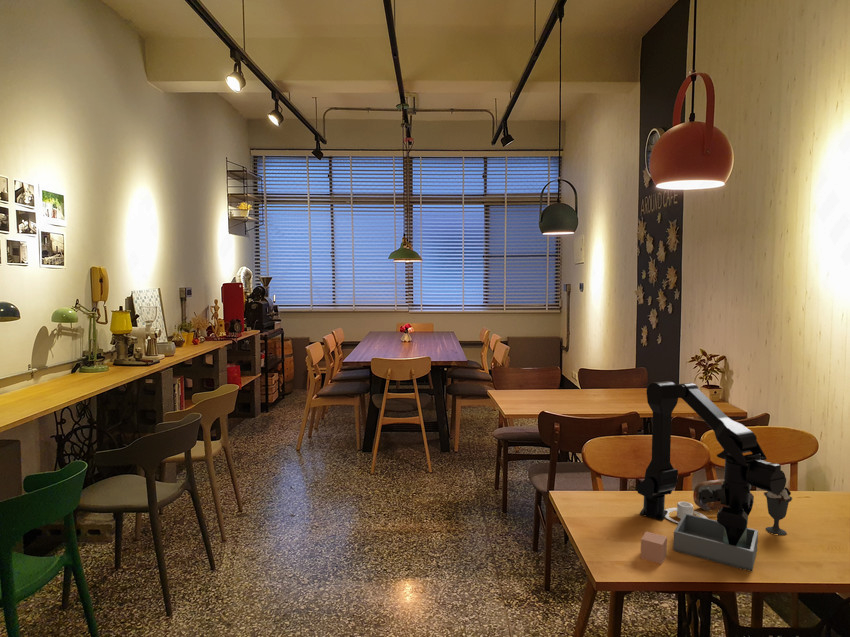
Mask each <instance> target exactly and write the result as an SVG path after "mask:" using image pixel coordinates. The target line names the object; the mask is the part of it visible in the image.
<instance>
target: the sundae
mask: <svg viewBox="0 0 850 637" xmlns="http://www.w3.org/2000/svg"><path fill="white" fill-rule="evenodd" d="M791 494H792V492H791V491H790V489H789V488H787V487H786V486H785V488H784V490H783V491H782V492H781V493H780V494H773V493H770V492H768V491H765V492H763V495H764V496H765V498H766V503H767V505H766V506H767V511H768V512H767V513H768V514H769V516H770V517H771V518H772V519H773V525H772V526H767V527H766V528H765V531H766V530H767V531H768V532H767V531H766V532H767V533H769V532H770V533H769V534H771V533H773V534H772V535H774V534H778V535H777V536H779V535H784V536H787V534H788V533H787V531H786V530H784V529H783V528H780V521H781V520H783V519H784V518H786V516H787V511H788V508H789V503H790V502H792V500H793V497H792V496H791Z"/></svg>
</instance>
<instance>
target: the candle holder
mask: <svg viewBox="0 0 850 637" xmlns="http://www.w3.org/2000/svg"><path fill="white" fill-rule="evenodd" d="M676 506H677V507H669V508H666V509H665V508H664V510H666V511H668V513H667V514H666V516H665V519H667V520H669V521H670V522H673V523H675V524H678V523H679V522H680V521H678V520H675V519H674V518H672V517H669V516H670V514H671V513H674V512H673V511H676V517H677V518H679V519H680V520H681V518H682V516H683V515H684V513H686V514H690V515H695V514H696V515H695V516H697V515H698V516H700V517H703V518H707V519H709V518H708V517H707V516H706V515H705V514H703V513H701V512H700V511H697V510H694V505H693V504H692V503H690V502H688V501H678V502H677V505H676ZM670 512H671V513H670ZM669 513H670V514H669ZM693 513H694V514H693Z"/></svg>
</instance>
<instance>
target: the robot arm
mask: <svg viewBox="0 0 850 637" xmlns="http://www.w3.org/2000/svg"><path fill="white" fill-rule="evenodd" d="M645 391H646V399H647V400H646V401H647V404H648V406H649V408H650V409H651V411H652V428H651V429H652V432H651V433H652V434H651V435H652V436H651V458H650V462H649V464H648V466H647V467H646V468H645V474H644V479H643V480H642V481H640V482H639V483H638V484H636V491H637V494H639V495H641V496H643V506H642V509H641V510H640V512H639V515H640V516H644V517H648V518H652V519H656V520H660V521H663V520H664V519H666V517H665V516H666V514H667V513H668V511H666V510H665V504H666V502H665V500H666V495H671V494H672V492H673V490H674V489H676V486H677V484H679V480H678V475H679V470H678V469H677V468H674V467H673V466H674V465H672V463H671V441H672V439H671V438H672V414H673V411H674V409H676V407H677V405H678V401H679V399H682V400H683V401H684V402H685V403H686V404H687V405H688V406H689V407H690V408H691V409H692V410H693V412H695V413H696V414H697V416H699V417H700V418H701V419H702V420H703V421H704V422H705V423H706V425H708V426H709V428H711V429H712V431H713V433H714V436H715V439H716V441H717V442H718V444H719V445H720V446H721V447H722V449H723V450H722V451H721V452H720V453H718V454H717V455H716V458H719V459H723V460H724V476H723V479H724V481H723V483H722V484H716V485H707V486H701V487H700V488H699V490H698V493H699V499H701V502H702V503H703V504H707V503H709V502H718V501H720V504H722V505H726V506H727V507H724V506H723V507H722V508H720V509H718V510H717V513H716V521H717V522H719V524H721V525H723V526H724V527H725V529H726V533H727V537H728V542H729V544H730V545H734V546H736V545H737V543H738V541H739V540H740V538H741V536H742V535H743V533H744V531H745V530H746V528H748V527H747V526H748V523H749V516H750V513H751V512H752V510H753V506H754V504H755V503H754V502H755V501H754V497H755V496H754V495H753V494H752V492H751V489H752V487H754V488H757V489H758V490H759V489H760V490H763V491H765V492H770V493H773V494H780V493H781V492H782V491H783V490H784V488H785V487H786V486H787V477H786V473H785V472H784V471H783V470H782V466H781V464H779V463H773V462H769V461H766V460H767V459H768V458H767V456H766V454H765V452H764V450H763V449H762V447H761V445H760V444H759V442H758V440H757V439H758V438H757V436H756V434H755V433H754V432H753V431H752V430H751V429H749V428H748V427H746V426H745V425H744V424H742V423H740V422H738V421H735V420H733V419H732V418H730V417H728V416H727V415H726V414H725V413H724V412H723V411H722V410H721V409H720V408H719V407H718V406H717V405H716V404H715V403H714V402H713V401H712V400H711V399H710V398H708V396H707V395H705V393H703V392H702V390H700V389H699V386H698V385H697V384H695V383H693V382H686V383H678V384H677V383H675V382H673V381H671V380H667V381H658V382H657V381H655V382H651V383H650V384H649V385H648V386H647V387H646V390H645ZM746 453H749V454H746Z"/></svg>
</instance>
